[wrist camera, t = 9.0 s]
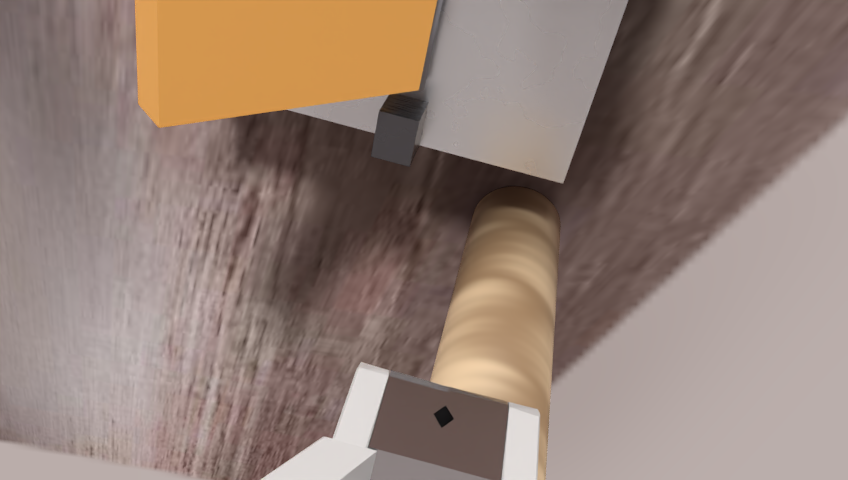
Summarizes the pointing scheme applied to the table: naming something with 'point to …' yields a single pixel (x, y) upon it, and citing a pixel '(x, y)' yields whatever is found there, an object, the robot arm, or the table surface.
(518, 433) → the robot arm
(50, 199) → the table surface
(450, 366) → the oak post
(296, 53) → the lever
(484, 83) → the breaker box
